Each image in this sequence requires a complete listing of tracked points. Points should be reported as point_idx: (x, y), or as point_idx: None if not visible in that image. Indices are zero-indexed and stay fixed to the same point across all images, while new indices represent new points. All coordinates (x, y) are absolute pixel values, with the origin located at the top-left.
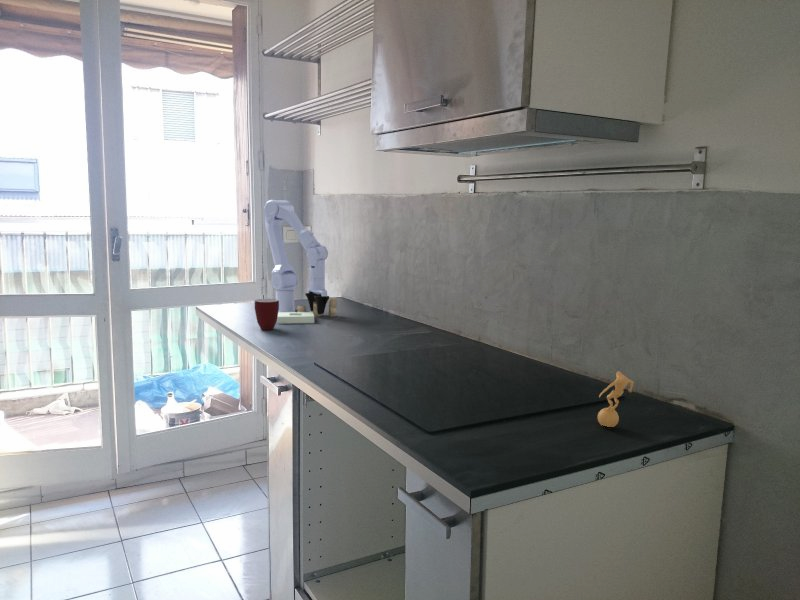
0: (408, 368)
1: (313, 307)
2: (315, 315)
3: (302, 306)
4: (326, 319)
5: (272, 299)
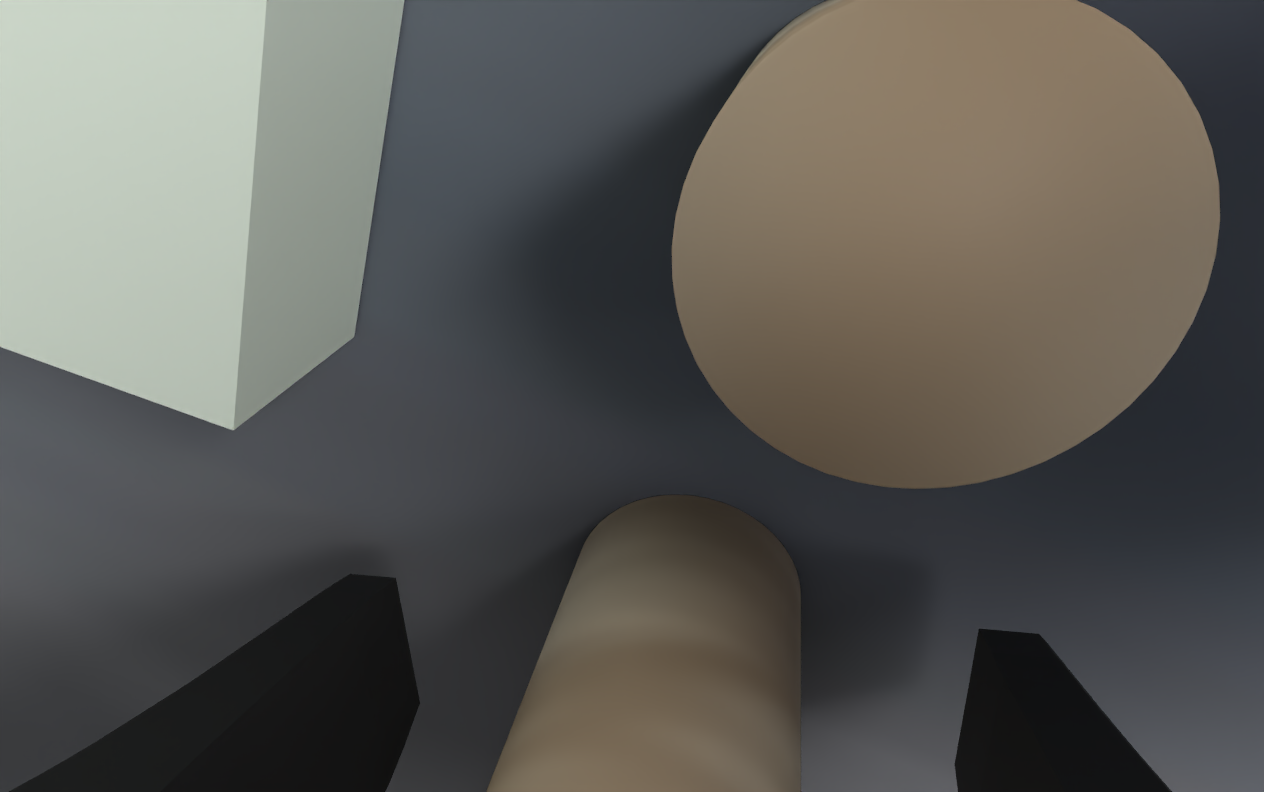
0: None
1: (640, 703)
2: (601, 539)
3: (780, 282)
4: (185, 577)
5: None
